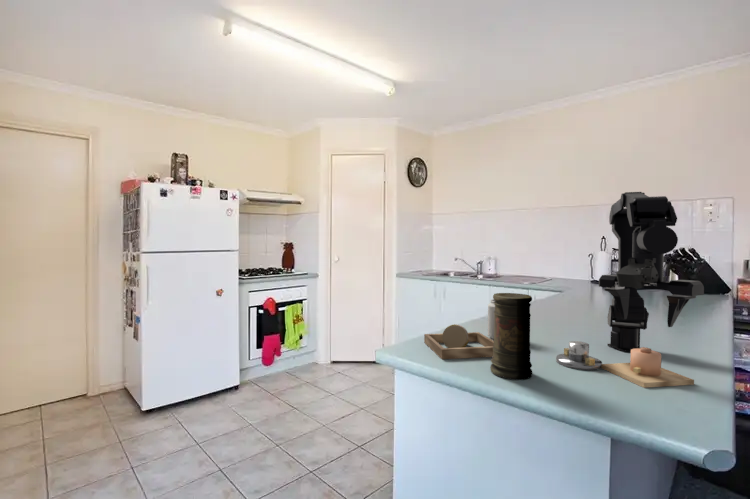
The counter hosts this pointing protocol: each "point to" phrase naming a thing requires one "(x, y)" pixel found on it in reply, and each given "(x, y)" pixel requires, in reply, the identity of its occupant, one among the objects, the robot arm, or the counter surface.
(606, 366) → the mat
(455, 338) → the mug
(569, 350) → the metal flange
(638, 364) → the cap
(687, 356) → the counter surface
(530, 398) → the counter surface
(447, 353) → the coaster frame
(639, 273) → the robot arm
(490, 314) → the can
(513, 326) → the container
